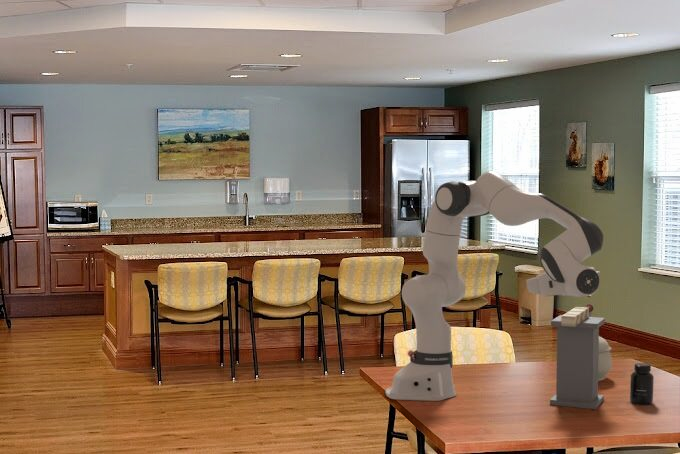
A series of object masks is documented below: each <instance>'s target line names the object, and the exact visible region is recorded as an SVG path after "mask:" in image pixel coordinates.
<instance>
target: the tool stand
mask: <svg viewBox="0 0 680 454" xmlns="http://www.w3.org/2000/svg"><path fill="white" fill-rule="evenodd" d="M562 315H563V314H560V315H558V316H557V317H555V318H553V319H552V320H550V326H551V327H556V328H557V329H556V390H555V392H556V393H555V394H554V396H552V397H551V398H550V399H549V405H552V406H562V407H571V408H579V409H588V410H589V409H590V410H597V409H598V408H599V407H600V405H601V404H602V403H603V402H604V400H605V399H604V397H605V395H604V394H603V395H602V394H599V381H598V354H599V336H600V334H599V333H600V328H601V326H604V324H605V323H606V318H605V317H597V316H596V317H595V316H592V317H588V318H587V319H585V320H584V321H582V322H581V323H580V324H578V325H577V326H575V327H570V326H561V316H562Z"/></svg>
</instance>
